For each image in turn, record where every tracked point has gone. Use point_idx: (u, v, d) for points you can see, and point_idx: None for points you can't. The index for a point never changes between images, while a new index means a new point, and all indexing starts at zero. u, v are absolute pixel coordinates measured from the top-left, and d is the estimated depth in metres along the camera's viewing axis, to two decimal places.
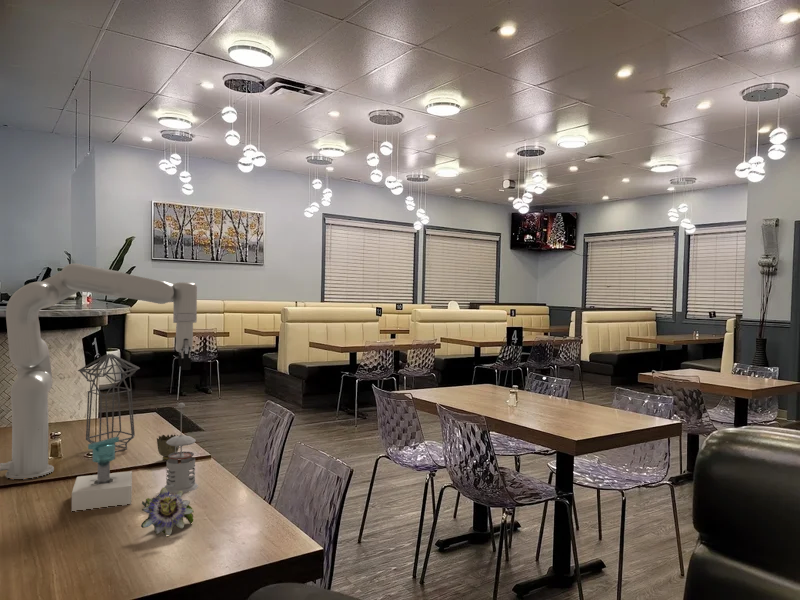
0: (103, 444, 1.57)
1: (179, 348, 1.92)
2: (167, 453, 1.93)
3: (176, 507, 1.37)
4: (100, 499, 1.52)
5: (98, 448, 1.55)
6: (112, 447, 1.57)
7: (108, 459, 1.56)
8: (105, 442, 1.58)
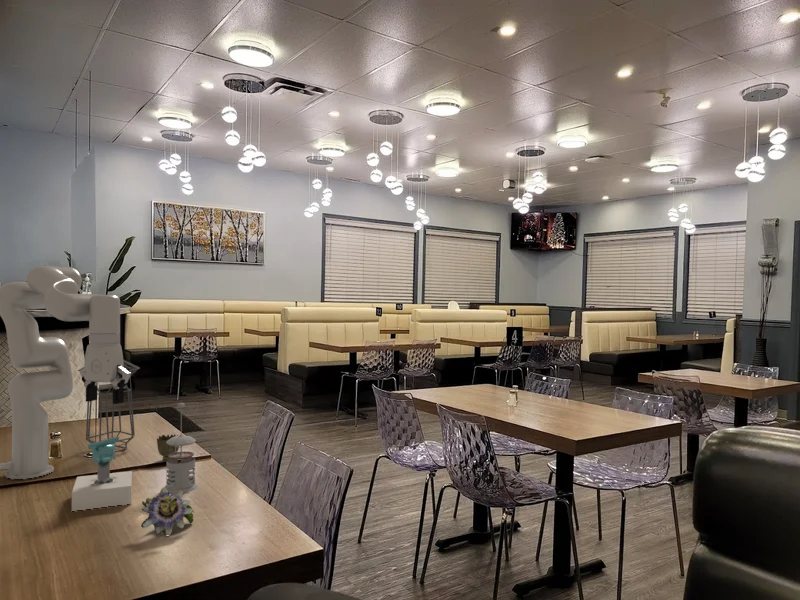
0: (103, 444, 1.57)
1: (112, 377, 1.54)
2: (167, 453, 1.93)
3: (176, 507, 1.37)
4: (100, 499, 1.52)
5: (98, 448, 1.55)
6: (112, 447, 1.57)
7: (108, 459, 1.56)
8: (105, 442, 1.58)
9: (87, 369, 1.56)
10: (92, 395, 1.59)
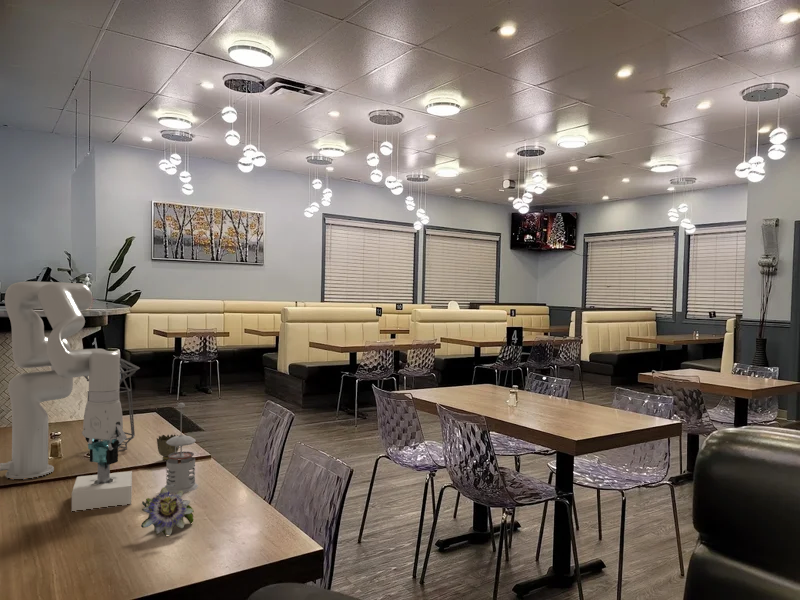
0: (103, 444, 1.57)
1: (111, 435, 1.54)
2: (167, 453, 1.93)
3: (176, 507, 1.37)
4: (100, 499, 1.52)
5: (98, 448, 1.55)
6: None
7: None
8: (105, 442, 1.58)
9: (86, 426, 1.56)
10: None
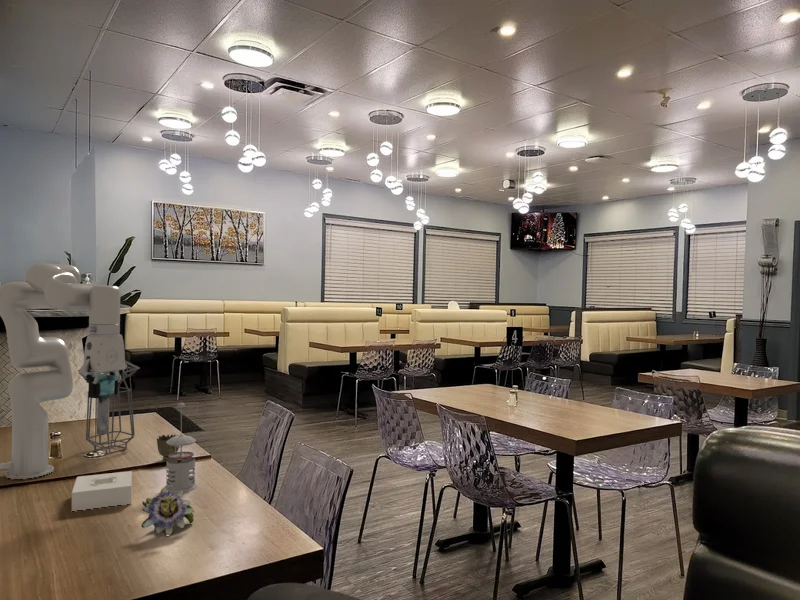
0: None
1: None
2: (167, 453, 1.93)
3: (176, 507, 1.37)
4: (100, 499, 1.52)
5: None
6: None
7: None
8: None
9: (101, 361, 1.54)
10: None
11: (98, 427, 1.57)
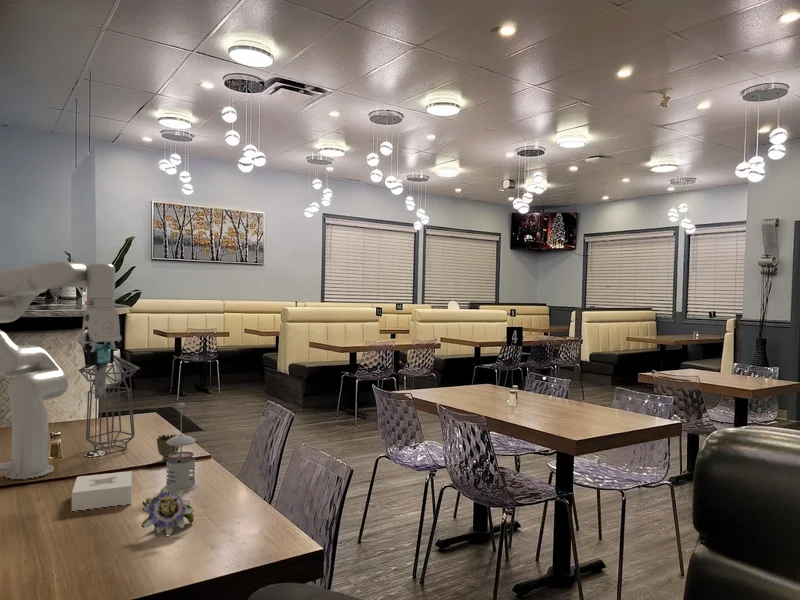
0: None
1: None
2: (167, 453, 1.93)
3: (176, 507, 1.37)
4: (100, 499, 1.52)
5: (109, 349, 1.74)
6: None
7: None
8: None
9: (98, 331, 1.70)
10: None
11: (96, 392, 1.73)
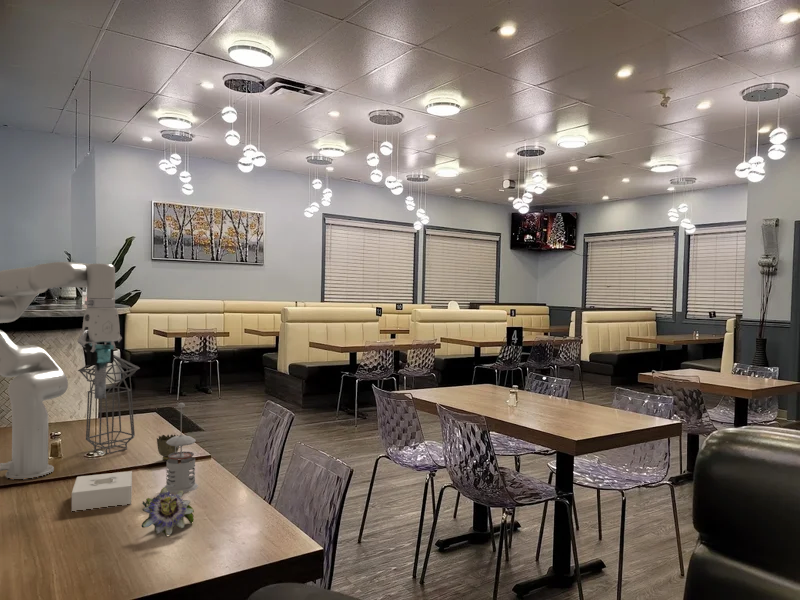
0: None
1: None
2: (167, 453, 1.93)
3: (176, 507, 1.37)
4: (100, 499, 1.52)
5: (109, 349, 1.74)
6: None
7: None
8: None
9: (98, 331, 1.70)
10: None
11: (96, 392, 1.73)
